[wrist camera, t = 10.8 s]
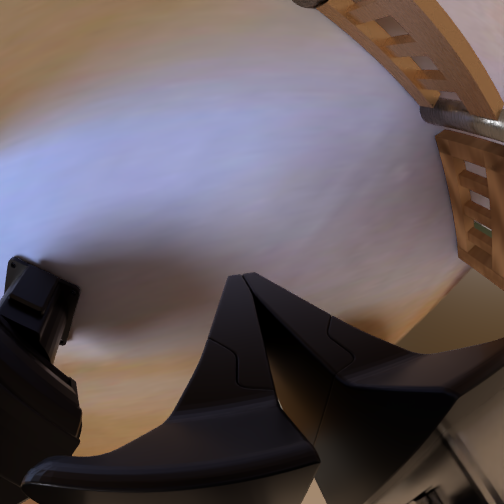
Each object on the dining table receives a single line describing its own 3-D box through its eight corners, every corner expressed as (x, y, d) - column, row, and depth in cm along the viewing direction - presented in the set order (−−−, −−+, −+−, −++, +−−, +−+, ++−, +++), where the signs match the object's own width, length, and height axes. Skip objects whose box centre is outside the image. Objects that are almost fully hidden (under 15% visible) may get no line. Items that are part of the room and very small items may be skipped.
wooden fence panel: (430, 128, 22) (513, 151, 14) (281, -6, 15) (350, -58, 7) (441, 109, 21) (522, 127, 13) (298, -26, 14) (370, -77, 6)
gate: (434, 136, 22) (512, 161, 14) (445, 128, 22) (521, 151, 14) (458, 257, 29) (509, 296, 22) (467, 248, 29) (519, 285, 22)
